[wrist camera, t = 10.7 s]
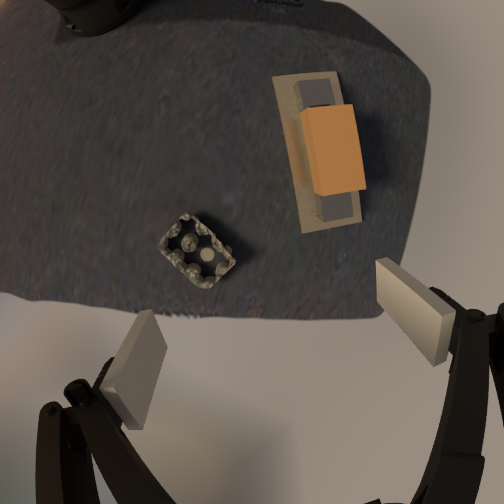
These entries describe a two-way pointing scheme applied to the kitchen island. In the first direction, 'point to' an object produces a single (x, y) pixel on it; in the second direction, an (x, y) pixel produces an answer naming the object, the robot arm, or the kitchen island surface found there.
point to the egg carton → (190, 245)
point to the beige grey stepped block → (289, 106)
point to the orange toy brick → (333, 149)
